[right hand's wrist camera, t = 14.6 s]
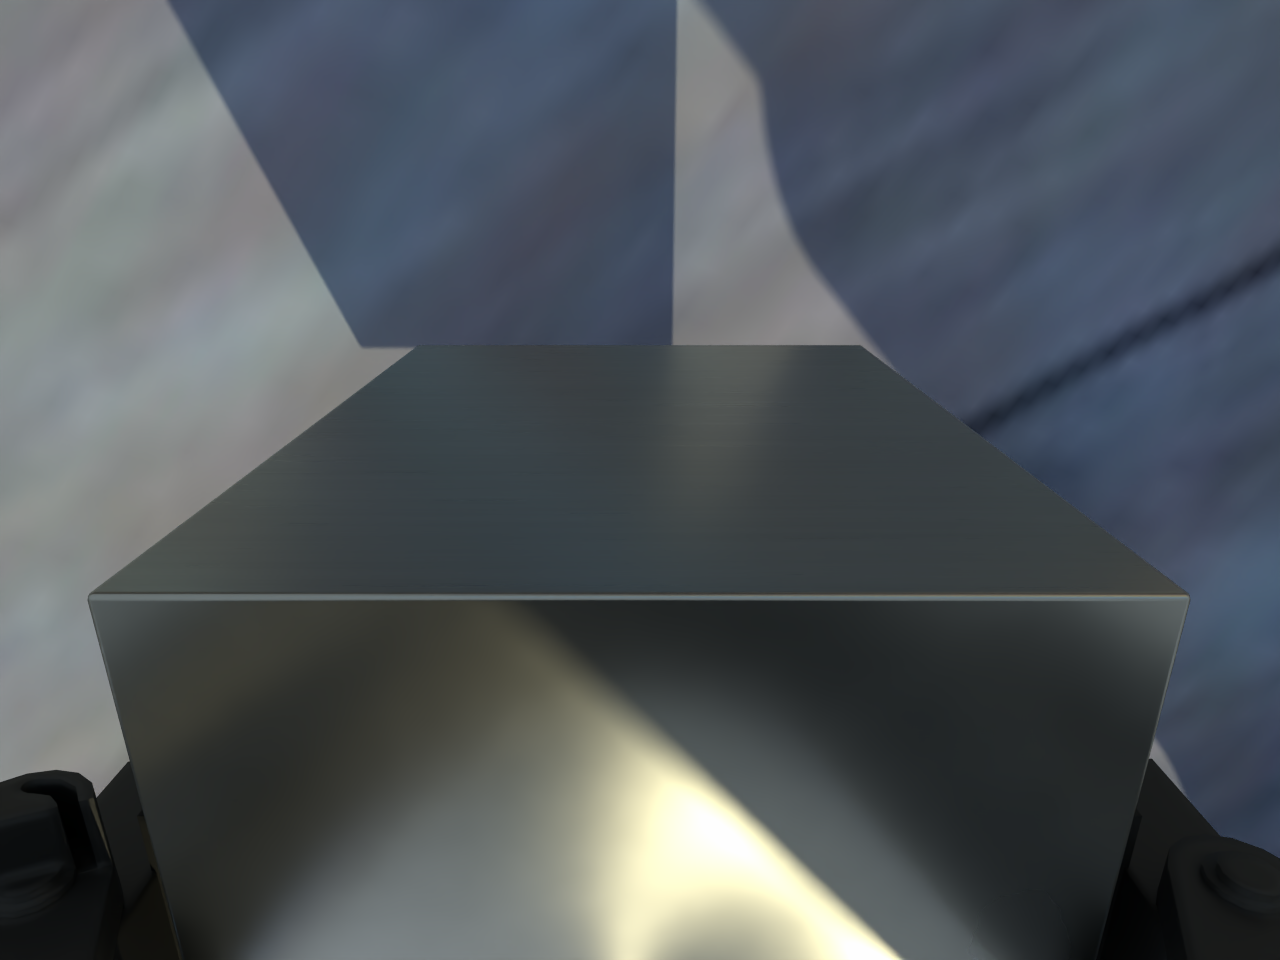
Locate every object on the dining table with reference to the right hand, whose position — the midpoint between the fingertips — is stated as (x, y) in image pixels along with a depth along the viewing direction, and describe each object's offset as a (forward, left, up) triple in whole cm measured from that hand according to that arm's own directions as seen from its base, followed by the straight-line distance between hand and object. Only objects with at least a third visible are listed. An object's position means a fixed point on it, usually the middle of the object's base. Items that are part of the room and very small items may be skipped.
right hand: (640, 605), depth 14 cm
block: (0, 0, -2) cm, 2 cm away
